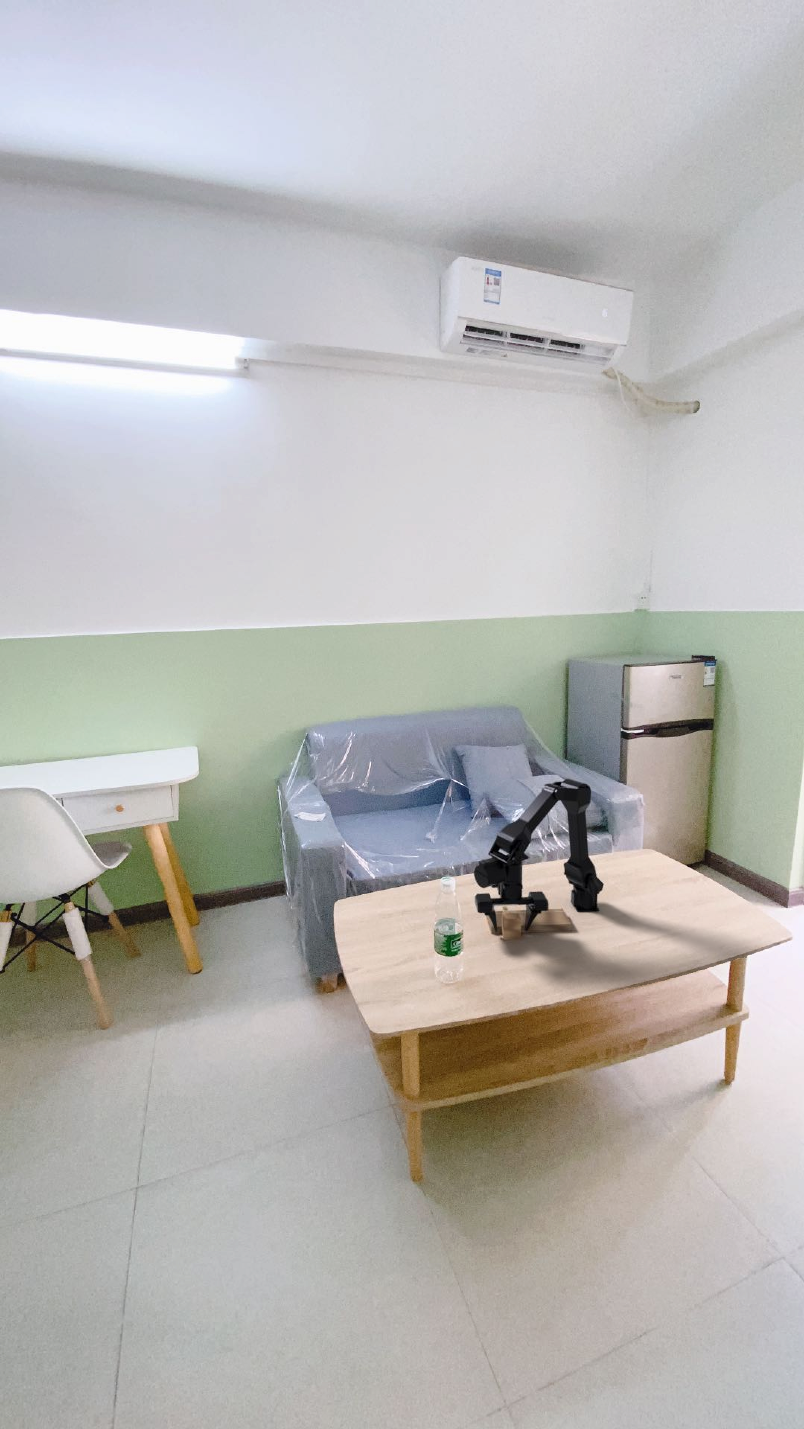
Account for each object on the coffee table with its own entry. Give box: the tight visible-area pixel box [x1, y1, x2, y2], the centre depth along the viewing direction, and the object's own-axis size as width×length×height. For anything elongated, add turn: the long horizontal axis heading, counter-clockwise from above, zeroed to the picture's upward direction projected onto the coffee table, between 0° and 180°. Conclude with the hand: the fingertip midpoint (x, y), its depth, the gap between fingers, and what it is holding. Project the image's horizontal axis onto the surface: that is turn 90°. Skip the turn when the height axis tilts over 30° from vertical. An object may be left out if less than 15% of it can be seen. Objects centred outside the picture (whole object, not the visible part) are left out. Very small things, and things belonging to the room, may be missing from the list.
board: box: [485, 908, 573, 935], centre depth 152 cm, size 22×8×2 cm, turn 91°
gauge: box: [501, 906, 522, 941], centre depth 149 cm, size 4×11×6 cm, turn 1°
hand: (511, 931), depth 146 cm, fingers open, 8 cm apart
